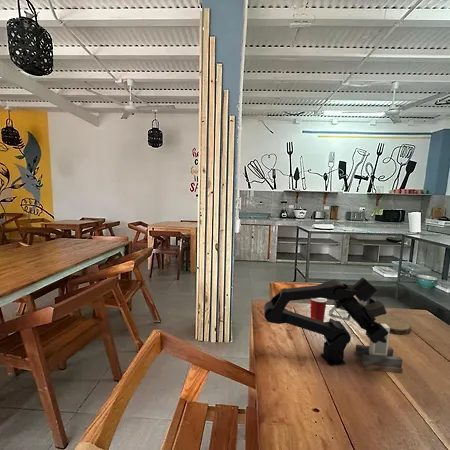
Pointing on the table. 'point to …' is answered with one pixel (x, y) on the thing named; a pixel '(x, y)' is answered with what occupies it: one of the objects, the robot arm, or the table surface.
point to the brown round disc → (394, 324)
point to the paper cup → (318, 308)
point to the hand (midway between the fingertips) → (383, 339)
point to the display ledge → (378, 360)
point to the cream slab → (380, 345)
